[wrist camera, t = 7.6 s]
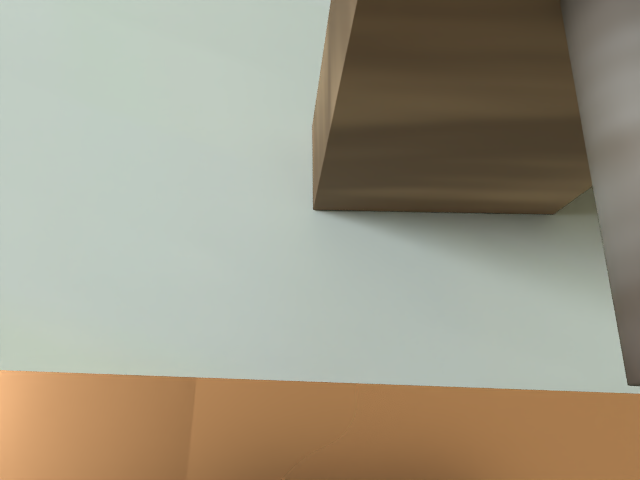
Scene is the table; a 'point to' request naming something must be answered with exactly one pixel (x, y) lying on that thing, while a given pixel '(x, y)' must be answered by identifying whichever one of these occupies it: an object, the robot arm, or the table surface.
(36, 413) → the C-link
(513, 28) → the walnut stand
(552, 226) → the table surface
